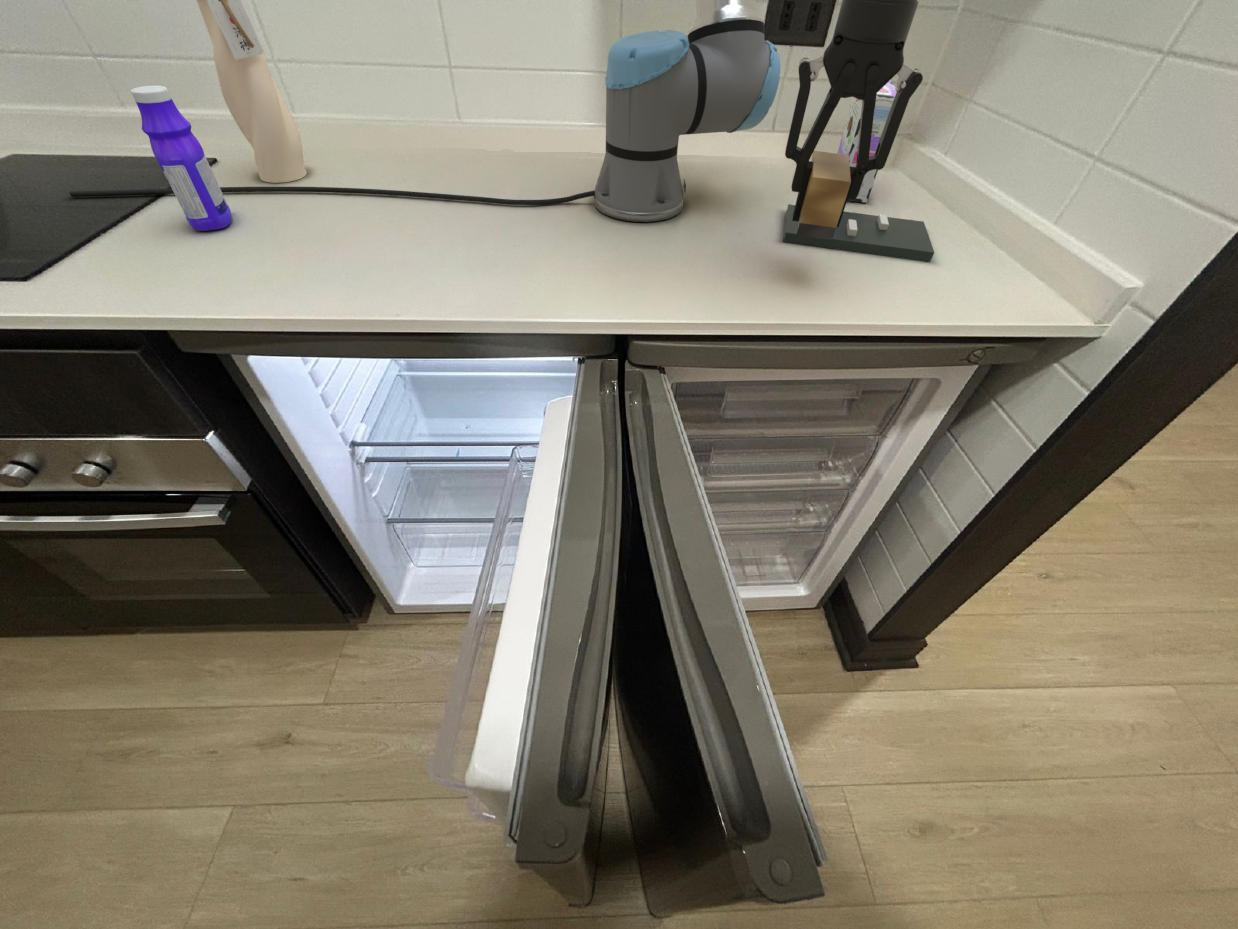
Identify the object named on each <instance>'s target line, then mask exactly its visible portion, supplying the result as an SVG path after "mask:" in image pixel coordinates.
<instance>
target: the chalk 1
mask: <svg viewBox="0 0 1238 929" xmlns="http://www.w3.org/2000/svg"><path fill="white" fill-rule="evenodd" d="M856 233H857V223H856V220H851V219H848V222H847V235H849V236H856Z"/></svg>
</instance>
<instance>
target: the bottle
mask: <svg viewBox="0 0 1238 929" xmlns="http://www.w3.org/2000/svg"><path fill="white" fill-rule="evenodd" d="M130 93H131V95H132V97H133V99H134V101H135V104H136V105H137V108H138V110H139V113H140V118H141V130H142V132H143V133H144V134H146V135H147V136H148V138H149V143H150V148H151V151H152V154H153V155H154V158H155V160H156V161H157V163H158V165H159V166H160V169H161V170H162V172H163V174H164V176H165V178H166V180H167V183H168V184H169V186H170V187H171V188H170V189H172V190H173V192H174V194H173V195H174V196H175V198H176V200H177V202H178V204H179V206H180V208H181V210H182V212H183V214H184V216H185V219H186V221H187V222H188V224H189V225H190V226H191V227H192V228H193V229H195V230H196V231H198V232H199V231H201V232H202V231H204V232H205V231H206V232H207V231H215V230H221V229H224V228H227V226H229V225H230V224H231V222H232V218H233V216H232V211H231V208H230V206H229V204H228V202H227V200H226V197H225V196H224V194H223V193H222V191H221V189H220V187H221V186H220V185H219V182H218V181H217V178H216V176H215V174H214V172H213V170H212V167H211V165H210V164H209V161H208V159H207V157H206V154H205V151H204V148H203V147H202V145H201V143H200V141H199V140H198V138H197V137H196V136H195V135H194V133H193V132H192V124H191V122H190V121H188V120H187V118H185V116H184V115H183V114H182V113H181V112H180V111H179V109H178V108H177V105H176V104H175V102H174V100H173V98H172V96H171V94H170V92H169V90H168V88H167V87H166V86H163V85H143V86H137V87H134V88H131V89H130Z"/></svg>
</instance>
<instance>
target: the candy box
mask: <svg viewBox="0 0 1238 929" xmlns="http://www.w3.org/2000/svg"><path fill="white" fill-rule="evenodd" d="M897 91H898V88H897V87H896V86H895V85H894V84H893V82H892V79H891V80H890V81H889V82H888V83H887V84H886V85H885V86H884V87H883V88H882V89H881V90H879V91H878V92H877V95H876V103H875V109H874V117H873V126H872V135H871V144H870V153H869V156H874V154H875V152H876V149H877V146H878V143H879V140H880V137H881V135H882V132H883V129H884V126H885V123H886V120H887V118H888V115H889V112H890V109H891V106H892V103H893V101H894V98H895V95H896V93H897ZM861 111H862V100H859V99H857V98H854V97H852V100H851V102H850V106H849V111H848V114H847V118H846V122H845V125H844V128H843V131H842V136H841V139H840V143H839V146H838V151H837V153H836V154H844V155H849V164H850V166H851V167H856V161H857V151H858V141H859V131H860V121H861ZM878 171H879V170H876V169H875V170H871V171H868V172H867V173H866V174H865V176H864V179H863V182H862V185H861V188H860V191H859V194H858V196H857V198H856V199H855V200H853V199H848V200H847V202H848V201H849V202H857V203H863V204H866V203H868V201H869V198H870V195H871V192H872V189H873V186H874V183H875V180H876V177H877V174H878Z"/></svg>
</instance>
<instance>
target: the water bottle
mask: <svg viewBox="0 0 1238 929" xmlns="http://www.w3.org/2000/svg"><path fill="white" fill-rule="evenodd" d="M196 3H197V5H198V9H199V11H200V13H201V16H202V19H203V22H204V25H205V27H206V30H207V32H208V35H209V38H210V40H211V43H212V49H213V50H212V51H213V52H212V53H213V60H214V61H213V62H214V66H215V70H216V75H217V78H218V82H219V83H218V84H219V87H220V92H221V94H222V97H223V100H224V102H225V104H226V106H227V108H228V110H229V113H230V114H231V116H232V118H233V121H235V124H236V125H237V127H238V129H239V130H240V132H241V133H242V135H243V137H244V138H245V139H246V140H247V142H248V144H249V145H250V146H251V147H252V149H253V152H254V155H253V156H254V162H255V165H256V170H257V172H258V176H259V179H260V180H261V181H263V182H266V183H270V184H271V183H274V184H281V183H289V182H294V181H298V180H301V179H303V178H305V176H307V173H308V172H307V169H306V166H305V161H304V151H303V150H304V149H303V142H302V139H301V134H300V132H299V130H298V126H297V124H296V121H295V119H294V117H293V114H292V112H291V110H290V108H289V106H288V105H287V102H286V100H285V98H284V96H283V94H282V92H281V91H280V89H279V88H278V86H277V84H276V82H275V80H274V78H273V77H272V73H271V70H270V68H269V64H268V61H267V58H266V56H265V54H266V53H265V51H264V48H263V47H262V44H261V42H260V40H259V38H258V35H257V33H256V30H255V28H254V27H253V24H252V23H251V20H250V18H249V15H248V14H247V11H246V9H245V6H244V5H243V2H242V0H196Z"/></svg>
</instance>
